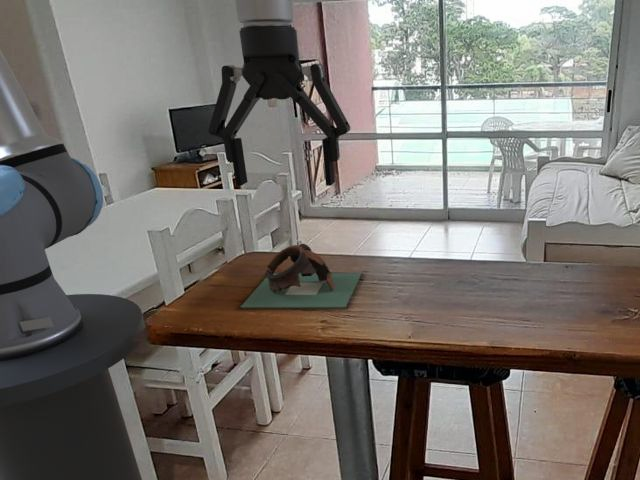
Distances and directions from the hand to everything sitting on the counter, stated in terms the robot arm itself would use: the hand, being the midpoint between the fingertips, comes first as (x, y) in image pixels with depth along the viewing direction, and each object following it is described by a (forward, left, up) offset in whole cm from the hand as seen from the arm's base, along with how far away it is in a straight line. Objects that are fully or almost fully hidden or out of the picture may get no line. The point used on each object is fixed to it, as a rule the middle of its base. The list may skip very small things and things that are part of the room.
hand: (286, 184), depth 86 cm
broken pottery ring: (+1, -1, -17) cm, 17 cm away
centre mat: (+1, -1, -17) cm, 17 cm away
